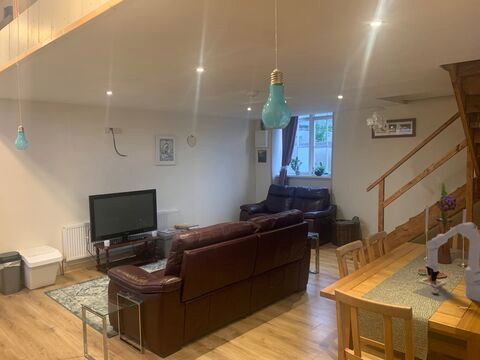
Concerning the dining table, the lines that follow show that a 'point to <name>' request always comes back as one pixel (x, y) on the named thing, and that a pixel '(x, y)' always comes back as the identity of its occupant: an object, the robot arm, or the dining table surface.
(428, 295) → the crank base
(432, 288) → the crank
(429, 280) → the block
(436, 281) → the tray
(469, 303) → the dining table surface
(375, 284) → the dining table surface
